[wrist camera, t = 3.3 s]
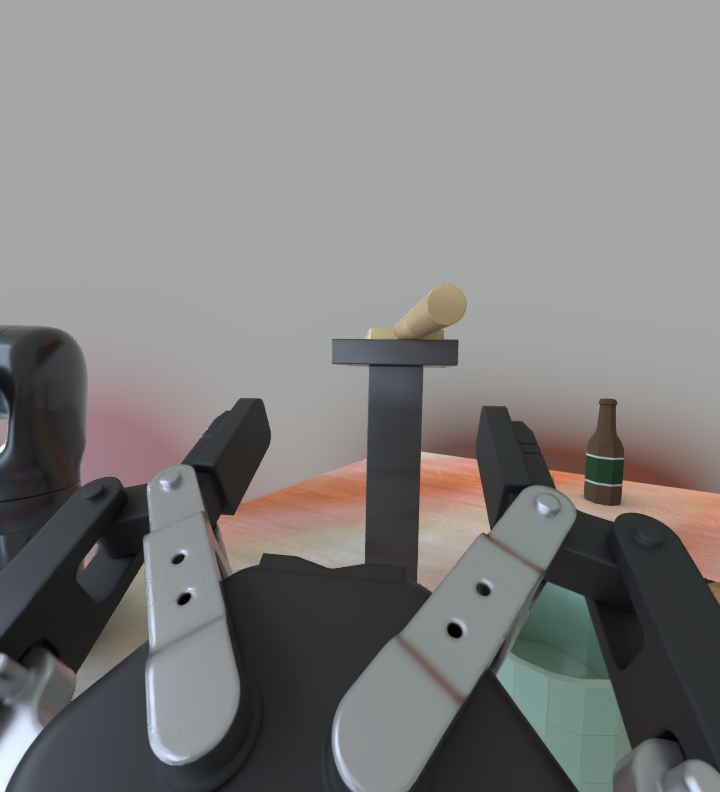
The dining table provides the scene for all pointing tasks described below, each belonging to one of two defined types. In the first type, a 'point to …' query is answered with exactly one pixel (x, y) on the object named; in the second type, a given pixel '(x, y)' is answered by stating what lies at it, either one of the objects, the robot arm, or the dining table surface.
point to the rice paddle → (427, 316)
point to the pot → (567, 689)
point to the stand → (394, 439)
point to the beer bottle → (604, 459)
